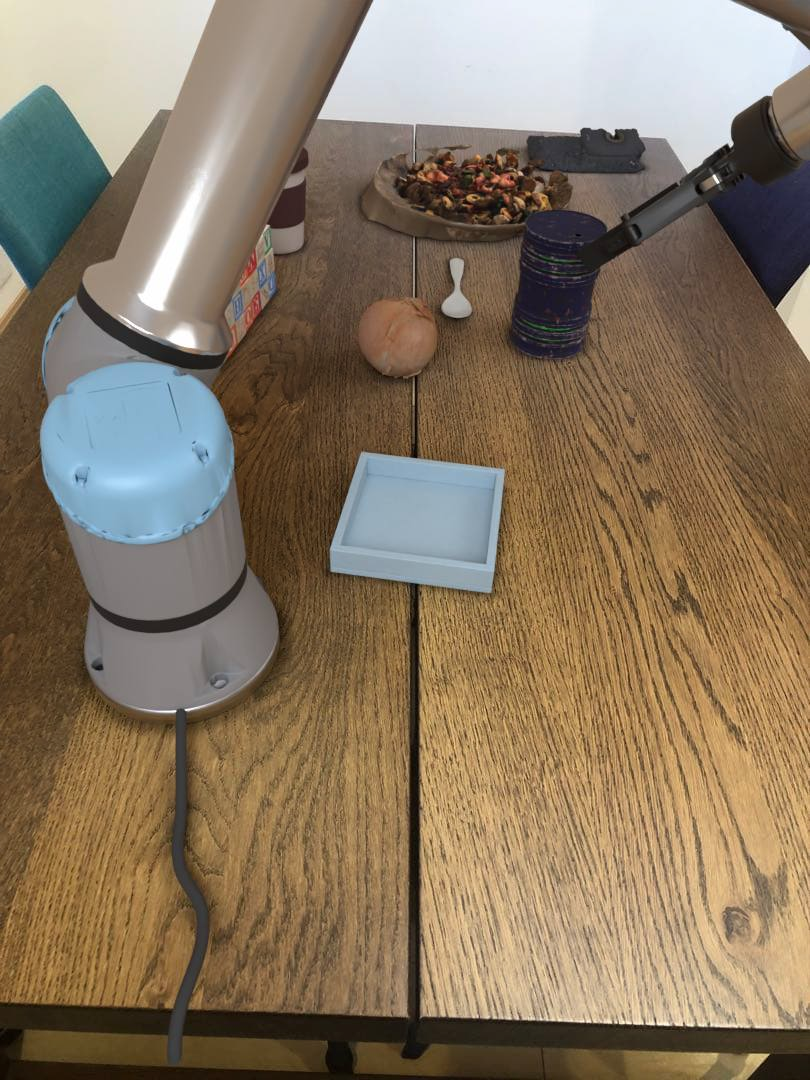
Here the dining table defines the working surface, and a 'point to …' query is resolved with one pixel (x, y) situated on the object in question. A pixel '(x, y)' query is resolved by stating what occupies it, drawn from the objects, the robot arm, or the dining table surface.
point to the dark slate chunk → (589, 151)
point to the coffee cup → (290, 211)
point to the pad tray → (420, 522)
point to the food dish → (462, 195)
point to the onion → (398, 336)
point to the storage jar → (554, 284)
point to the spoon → (456, 293)
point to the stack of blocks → (252, 290)
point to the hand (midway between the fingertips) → (610, 241)
